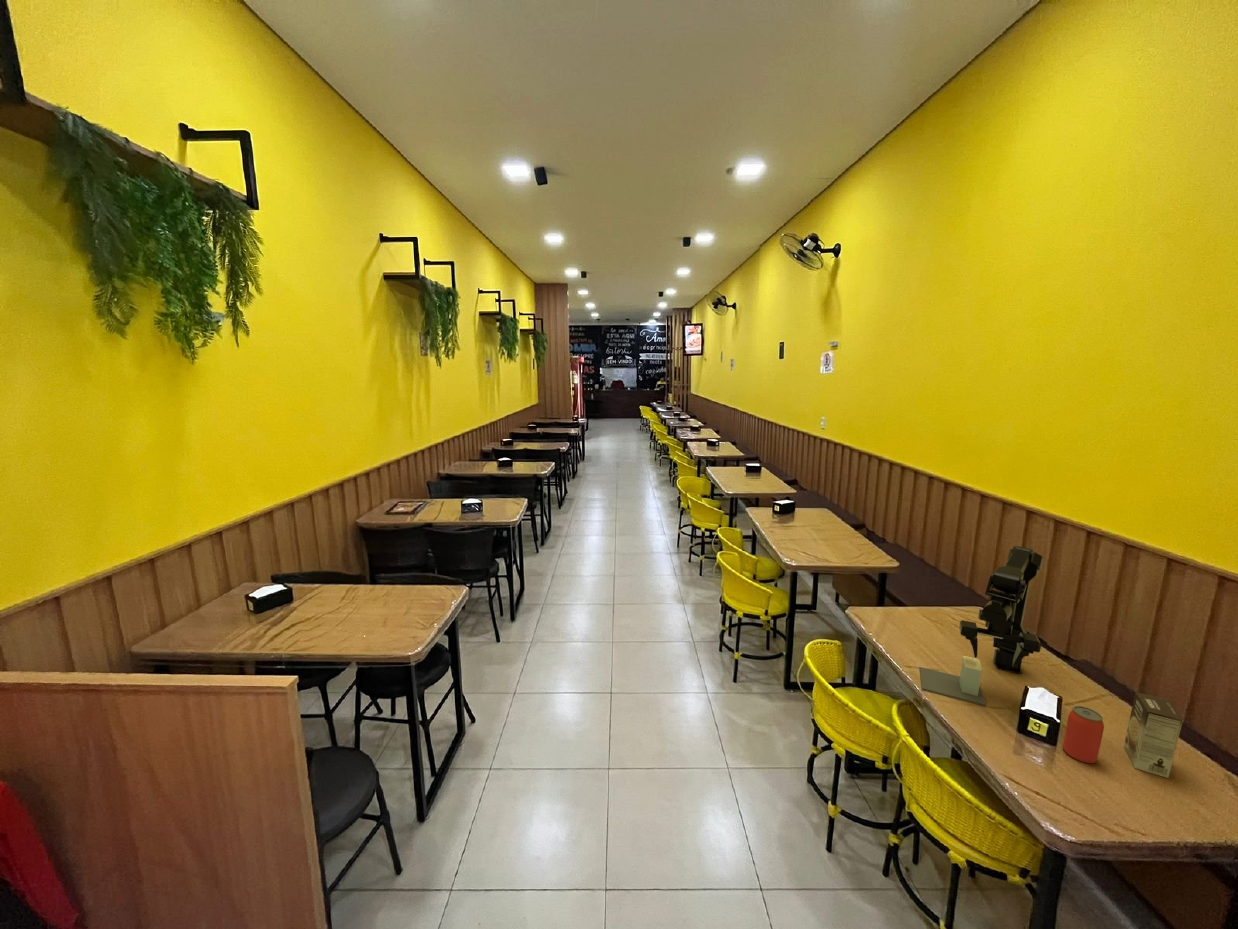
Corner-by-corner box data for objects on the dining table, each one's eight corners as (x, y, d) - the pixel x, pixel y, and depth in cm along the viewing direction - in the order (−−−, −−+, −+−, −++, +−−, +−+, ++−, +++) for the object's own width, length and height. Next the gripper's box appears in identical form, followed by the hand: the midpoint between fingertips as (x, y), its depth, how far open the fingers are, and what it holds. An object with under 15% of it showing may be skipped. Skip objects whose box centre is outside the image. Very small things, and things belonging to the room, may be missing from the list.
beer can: (1090, 750, 128) (1098, 708, 126) (1101, 768, 123) (1110, 725, 120) (1058, 742, 131) (1065, 701, 129) (1067, 759, 125) (1076, 717, 123)
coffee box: (1121, 745, 130) (1134, 690, 127) (1156, 755, 127) (1169, 699, 124) (1133, 768, 123) (1146, 710, 120) (1170, 779, 119) (1185, 720, 116)
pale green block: (974, 685, 154) (978, 659, 152) (977, 696, 149) (982, 669, 147) (959, 681, 156) (963, 655, 154) (961, 692, 151) (965, 665, 149)
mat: (978, 682, 156) (978, 681, 156) (985, 706, 145) (985, 704, 145) (919, 668, 164) (919, 666, 164) (922, 689, 153) (922, 688, 152)
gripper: (1036, 609, 148) (1027, 657, 151) (960, 595, 157) (954, 640, 160) (1045, 625, 138) (1036, 676, 141) (964, 610, 147) (957, 657, 150)
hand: (994, 661), depth 148 cm, fingers open, 9 cm apart
